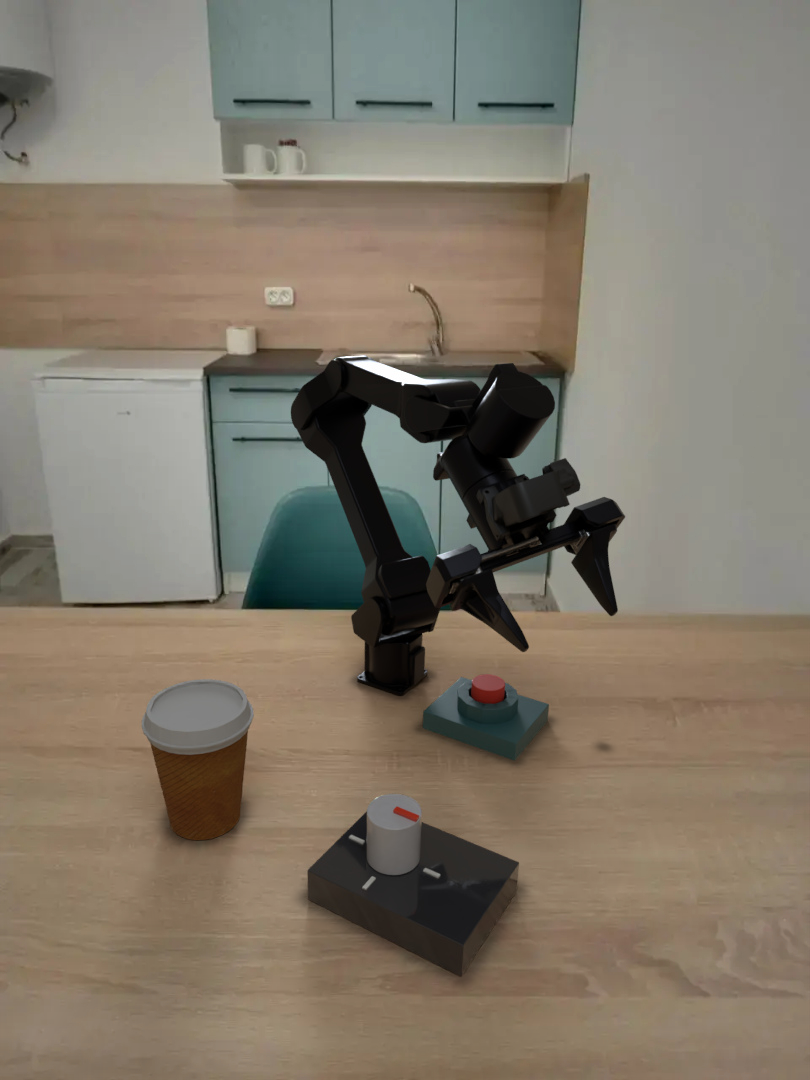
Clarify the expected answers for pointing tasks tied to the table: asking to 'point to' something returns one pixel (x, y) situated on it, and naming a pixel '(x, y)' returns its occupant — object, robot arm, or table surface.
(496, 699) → the button
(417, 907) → the hob panel
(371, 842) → the hob knob
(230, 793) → the disposable coffee cup
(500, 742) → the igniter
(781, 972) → the table surface
